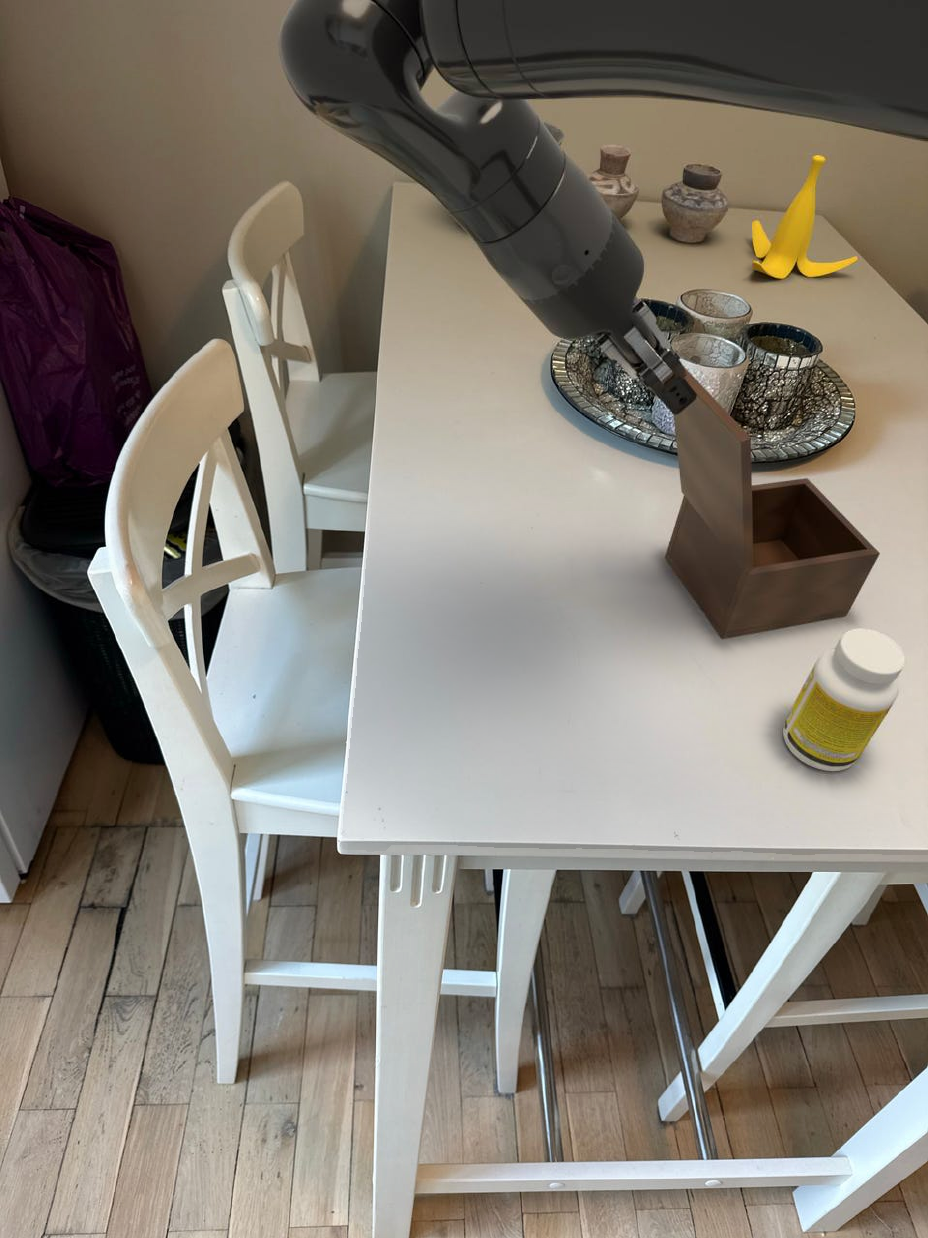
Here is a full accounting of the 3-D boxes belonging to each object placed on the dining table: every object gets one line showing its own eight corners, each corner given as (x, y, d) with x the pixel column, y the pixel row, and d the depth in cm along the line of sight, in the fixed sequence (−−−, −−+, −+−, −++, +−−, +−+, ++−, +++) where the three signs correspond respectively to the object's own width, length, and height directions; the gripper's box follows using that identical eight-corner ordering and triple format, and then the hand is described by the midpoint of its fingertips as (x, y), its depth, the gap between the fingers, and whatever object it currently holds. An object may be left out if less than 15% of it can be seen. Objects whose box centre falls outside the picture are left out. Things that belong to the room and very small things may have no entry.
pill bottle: (867, 776, 70) (929, 685, 62) (791, 771, 70) (844, 679, 62) (844, 716, 74) (900, 623, 67) (773, 711, 74) (820, 617, 66)
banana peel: (750, 239, 151) (782, 132, 139) (852, 277, 143) (895, 166, 131) (698, 263, 142) (728, 150, 130) (804, 305, 133) (846, 189, 122)
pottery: (574, 210, 154) (586, 135, 146) (716, 228, 154) (736, 154, 145) (572, 234, 146) (584, 156, 138) (722, 253, 146) (744, 176, 137)
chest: (781, 539, 91) (807, 477, 86) (846, 616, 83) (880, 553, 78) (664, 557, 88) (684, 494, 82) (721, 639, 80) (747, 575, 74)
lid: (676, 358, 71) (667, 362, 71) (751, 437, 63) (740, 441, 63) (689, 488, 82) (681, 491, 82) (753, 569, 74) (745, 573, 74)
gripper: (651, 242, 49) (770, 413, 61) (563, 163, 58) (681, 325, 70) (550, 338, 51) (683, 485, 63) (480, 248, 60) (608, 391, 72)
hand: (682, 401), depth 67 cm, fingers closed
